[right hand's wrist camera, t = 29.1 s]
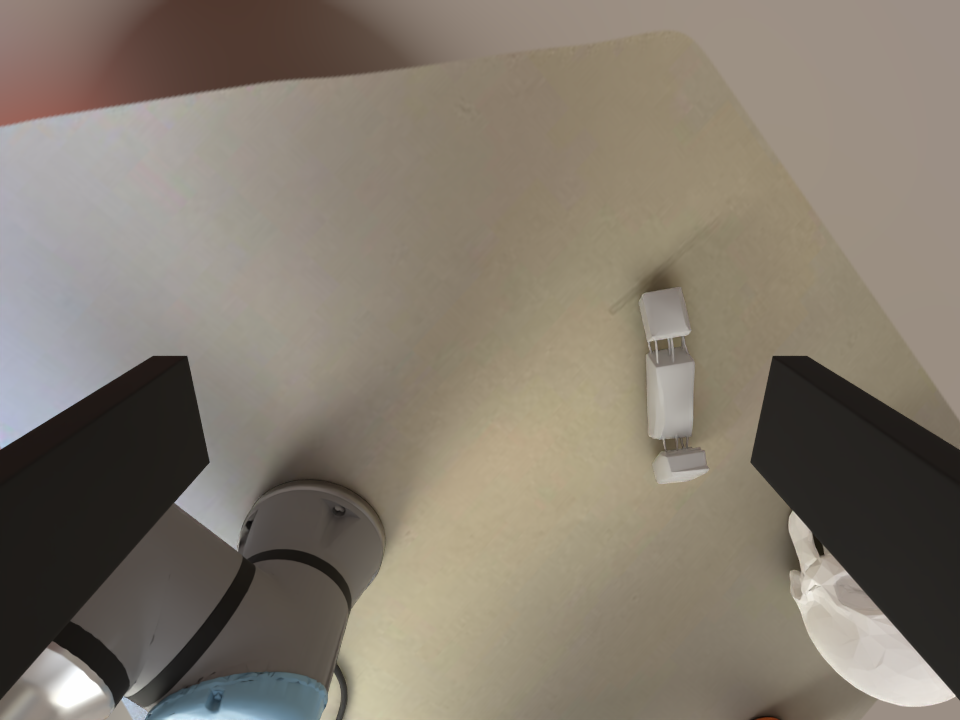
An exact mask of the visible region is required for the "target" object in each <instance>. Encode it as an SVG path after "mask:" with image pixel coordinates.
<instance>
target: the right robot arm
mask: <svg viewBox="0 0 960 720" xmlns="http://www.w3.org/2000/svg"><path fill="white" fill-rule="evenodd" d="M208 464H209V457H208V452H207V448H206V443H205V438H204V433H203V429H202V424H201V419H200V414H199V410H198V405H197V400H196V395H195V391H194V386H193V381H192V376H191V372H190V367H189V362H188V357H187V356H152V357H151V358H149V359H147V360H146V361H144V362H142V363H141V364H139V365H138V366H136V367H134V368H133V369H131V370H129V371H128V372H126V373H125V374H123V375H121V376H120V377H118V378H116V379H115V380H113V381H112V382H110V383H108V384H107V385H105V386H103V387H102V388H100V389H99V390H97V391H95V392H94V393H92V394H90V395H89V396H87V397H86V398H84V399H82V400H81V401H79V402H77V403H76V404H74V405H73V406H71V407H69V408H68V409H66V410H64V411H63V412H61V413H60V414H58V415H56V416H55V417H53V418H51V419H50V420H48V421H47V422H45V423H43V424H42V425H40V426H38V427H37V428H35V429H33V430H32V431H30V432H29V433H27V434H25V435H24V436H22V437H20V438H19V439H17V440H16V441H14V442H12V443H11V444H9V445H7V446H6V447H4V448H3V449H1V450H0V720H105V719H106V718H107V717H108V716H109V715H110V714H111V712H112V711H113V710H114V708H115V707H116V705H117V704H118V703H119V701H120V700H121V699H122V697H123V696H124V697H126V698H128V699H129V700H131V701H133V702H134V703H136V704H137V705H139V706H141V707H142V708H143V709H145V710H146V711H148V712H149V713H148V715H147V717H146V718H145V720H320V717H321V715H322V712H323V711H324V709H325V707H326V704H327V701H328V691H329V687H330V683H331V680H332V676H333V672H334V673H335V675H336V677H337V679H338V681H339V684H340V688H341V704H340V708H339V712H338V715H337V718H336V720H342V719H343V715H344V712H345V709H346V704H347V686H346V682H345V678H344V676H343V674H342V672H341V670H340V668H339V666H338V665H337V663H336V661H337V658H338V654H339V651H340V647H341V643H342V640H343V636H344V632H345V629H346V625H347V621H348V617H349V614H350V611H351V608H352V607H353V606H354V604H355V603H356V601H357V600H358V599H359V597H360V596H361V594H362V593H363V591H364V590H366V589H367V587H368V586H369V585H370V584H371V582H372V581H373V580H374V578H375V577H376V575H377V574H378V572H379V569H380V566H381V563H382V559H383V555H384V550H385V534H384V529H383V526H382V524H381V521H380V519H379V517H378V516H377V514H376V513H375V511H374V510H373V509H372V508H371V506H370V505H369V504H368V503H367V502H366V501H365V500H363V499H362V498H361V497H360V496H358V495H357V494H355V493H354V492H352V491H350V490H348V489H346V488H344V487H342V486H339V485H337V484H333V483H330V482H325V481H319V480H298V481H292V482H287V483H284V484H281V485H279V486H277V487H274V488H273V489H271V490H269V491H268V492H266V493H265V494H264V495H263V496H262V497H260V498H259V500H258V501H257V502H256V503H255V505H254V506H253V508H252V509H251V511H250V512H249V514H248V515H247V517H246V519H245V521H244V523H243V526H242V529H241V533H240V537H239V541H238V545H239V548H238V545H237V549H238V552H237V550H235V549H234V548H232V547H231V546H230V545H228V544H227V543H226V542H224V541H223V540H222V539H220V538H219V537H218V536H217V535H215V534H214V533H213V532H211V531H210V530H209V529H207V528H206V527H205V526H203V525H202V524H201V523H199V522H198V521H197V520H196V519H194V518H193V517H192V516H190V515H189V514H188V513H186V512H185V511H184V510H182V509H181V508H180V507H179V506H177V505H176V504H175V503H174V502H175V501H176V500H177V499H178V498H179V497H180V495H181V494H182V493H183V492H184V491H185V490H186V489H187V487H188V486H189V485H190V484H191V483H192V482H193V481H194V479H195V478H196V477H197V476H198V475H199V474H200V473H201V472H202V470H203V469H204V468H205V467H206V466H207V465H208ZM751 464H752V465H753V466H754V467H755V468H756V469H757V470H758V472H759V473H760V474H761V475H762V476H763V477H764V478H765V479H766V481H767V482H768V483H769V484H770V485H771V486H772V487H773V489H774V490H775V491H776V492H777V493H778V494H779V495H780V497H781V498H782V499H783V500H784V501H785V502H786V503H787V504H788V506H789V507H790V508H791V509H792V510H793V511H794V512H795V514H796V515H797V516H798V517H799V518H800V519H801V520H802V522H803V523H804V524H805V525H806V526H807V527H808V528H809V530H810V531H811V532H812V533H813V534H814V535H815V536H816V537H817V539H818V540H819V541H820V542H821V543H822V544H823V545H824V547H825V548H826V549H827V550H828V551H829V552H830V553H831V555H832V556H833V557H834V558H835V559H836V560H837V561H838V562H839V564H840V565H841V566H842V567H843V568H844V569H845V570H846V572H847V573H848V574H849V575H850V576H851V577H852V578H853V580H854V581H855V582H856V583H857V584H858V585H859V586H860V587H861V589H862V590H863V591H864V592H865V593H866V594H867V595H868V597H869V598H870V599H871V600H872V601H873V602H874V603H875V605H876V606H877V607H878V608H879V609H880V610H881V611H882V613H883V614H884V615H885V616H886V617H887V618H888V619H889V620H890V622H891V623H892V624H893V625H894V626H895V627H896V628H897V630H898V631H899V632H900V633H901V634H902V635H903V636H904V638H905V639H906V640H907V641H908V642H909V643H910V644H911V645H912V647H913V648H914V649H915V650H916V651H917V652H918V653H919V655H920V656H921V657H922V658H923V659H924V660H925V661H926V663H927V664H928V665H929V666H930V667H931V668H932V669H933V670H934V672H935V673H936V674H937V675H938V676H939V677H940V678H941V680H942V681H943V682H944V683H945V684H946V685H947V686H948V688H949V689H950V690H951V691H952V692H953V693H954V694H955V696H956V697H957V698H958V699H959V700H960V450H959V449H957V448H956V447H954V446H953V445H951V444H949V443H948V442H946V441H944V440H943V439H941V438H940V437H938V436H936V435H935V434H933V433H931V432H930V431H928V430H927V429H925V428H923V427H922V426H920V425H918V424H917V423H915V422H913V421H912V420H910V419H909V418H907V417H905V416H904V415H902V414H900V413H899V412H897V411H896V410H894V409H892V408H891V407H889V406H887V405H886V404H884V403H883V402H881V401H879V400H878V399H876V398H874V397H873V396H871V395H870V394H868V393H866V392H865V391H863V390H861V389H860V388H858V387H857V386H855V385H853V384H852V383H850V382H848V381H847V380H845V379H844V378H842V377H840V376H839V375H837V374H835V373H834V372H832V371H831V370H829V369H827V368H826V367H824V366H822V365H821V364H819V363H818V362H816V361H814V360H813V359H811V358H809V357H808V356H773V357H772V362H771V367H770V372H769V376H768V381H767V386H766V391H765V395H764V400H763V405H762V410H761V414H760V419H759V424H758V429H757V433H756V438H755V443H754V448H753V452H752V457H751Z"/></svg>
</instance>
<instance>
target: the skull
mask: <svg viewBox="0 0 960 720" xmlns="http://www.w3.org/2000/svg"><path fill="white" fill-rule="evenodd" d="M788 528H789V533H790V536H791V538H792V541H793V544H794V546H795V549H796V553H797V556H798V558H799V562H800V567H801V571H797V570H791V571H790V574H789V576H790V580H791V587H790V593H791V595H792V597H793V598H794V599H795V601H796V603H797V605H798V607H799V609H800V611H801V614H802V618H803V621H804V624H805V627H806V629H807V631H808V634H809V636H810V638H811V640H812V641H813V643H814V645H815V646H816V648H817V649H818V651H819V652H820V654H821V655H822V656H823V658H824V659H825V660H826V661H827V662H828V663H829V664H830V665H831V666H832V668H833V669H834V670H835V671H836V672H837V673H838V674H839V675H840V676H842V677H843V678H844V679H845V680H846V681H848V682H849V683H850V684H852V685H853V686H854V687H856V688H857V689H859V690H861V691H863V692H864V693H866V694H868V695H870V696H872V697H875V698H877V699H880V700H882V701H886V702H889V703H893V704H896V705H900V706H909V707H923V706H928V705H933V704H938V703H941V702H944V701H947V700H949V699H951V698H953V697H955V694H954V693H953V692H952V691H951V690H950V689H949V688H948V686H947V685H946V684H945V683H944V682H943V681H942V680H941V678H940V677H939V676H938V675H937V674H936V673H935V672H934V670H933V669H932V668H931V667H930V666H929V665H928V664H927V663H926V661H925V660H924V659H923V658H922V657H921V656H920V655H919V653H918V652H917V651H916V650H915V649H914V648H913V647H912V645H911V644H910V643H909V642H908V641H907V640H906V639H905V638H904V636H903V635H902V634H901V633H900V632H899V631H898V630H897V628H896V627H895V626H894V625H893V624H892V623H891V622H890V620H889V619H888V618H887V617H886V616H885V615H884V614H883V613H882V611H881V610H880V609H879V608H878V607H877V606H876V605H875V603H874V602H873V601H872V600H871V599H870V598H869V597H868V595H867V594H866V593H865V592H864V591H863V590H862V589H861V587H860V586H859V585H858V584H857V583H856V582H855V581H854V580H853V578H852V577H851V576H850V575H849V574H848V573H847V572H846V570H845V569H844V568H843V567H842V566H841V565H840V564H839V562H838V561H837V560H836V559H835V558H834V557H833V556H832V555H831V553H830V552H829V551H828V550H827V549H826V548H825V547H824V545H823V544H822V545H823V549H824V555H825V556H823V555H821V556H820V555H819V553H818V551H817V549H816V547H815V544H814V539H813V533H812V532H811V531H810V530H809V528H808V527H807V526H806V525H805V524H804V523H803V522H802V520H801V519H800V518H799V517H798V516H797V515H796V514H795V512H794V511H792V512H791V514H790V516H789V522H788Z"/></svg>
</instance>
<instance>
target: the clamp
mask: <svg viewBox="0 0 960 720" xmlns="http://www.w3.org/2000/svg"><path fill="white" fill-rule="evenodd" d="M639 307H640V311H641V316H642V320H643V325H644V330H645V334H646V339H647V342H648V347H649V351H650V352H648V353H647V354H646V376H647V415H648V435H649V436H650V437H651V438H653V439H659V440H661V439H663V445H664V449H665V451H662V452H660V453H659V454H658V456H657V457H656V458H655V459H654V461H653V463H652V466H653V470H654V474H655V478H656V481H657V482H658V483H659V484H665V483H675V482H684V481H690V480H692V479H694V478H696V477H698V476H701V475H703V474H705V473H707V471H708V470H709V467H708V466H707V463H706V455H705V451H704V450H701V448H700V447H698V448H692V447H688V437H692V426H693V395H694V374H695V362H694V359H693V358H692V357H691V355H690V354H689V352H688V350H687V347H686V344H685V337H684V336H685V335H688V334H689V333H690V332H691V327H690V321H689V316H688V312H687V308H686V303H685V300H684V296H683V293H682V289H681V287H674V288H668V289H663V290H657V291H651V292H645V293H644V294H642V296H641V298H640V300H639ZM679 336H681V338H682V346H681V347H675V348H674V346H673V337H679ZM667 338H668V346H669V349H663V350H658V346H657V340H661V339H667ZM670 340H671V344H670ZM651 341H655V348H656V351H652V350H651V346H650V342H651ZM684 347H685V348H684ZM682 437H686V448H684V445H683V440H682ZM671 438H676V449H674V450H668V451H667V449H666V444H665V439H671ZM678 438H680V440H681V445H682V448H681V449H678Z"/></svg>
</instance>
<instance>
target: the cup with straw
mask: <svg viewBox="0 0 960 720" xmlns="http://www.w3.org/2000/svg"><path fill="white" fill-rule="evenodd" d="M756 720H779V719H776V718H771V717H764V718H759V719H756Z"/></svg>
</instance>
